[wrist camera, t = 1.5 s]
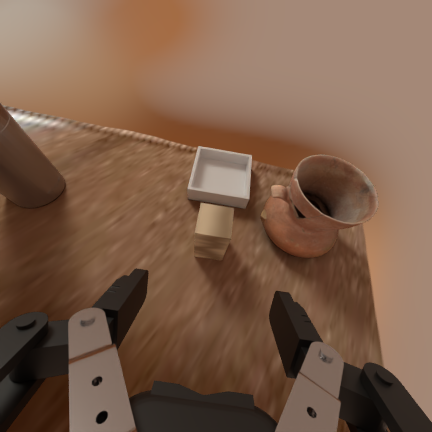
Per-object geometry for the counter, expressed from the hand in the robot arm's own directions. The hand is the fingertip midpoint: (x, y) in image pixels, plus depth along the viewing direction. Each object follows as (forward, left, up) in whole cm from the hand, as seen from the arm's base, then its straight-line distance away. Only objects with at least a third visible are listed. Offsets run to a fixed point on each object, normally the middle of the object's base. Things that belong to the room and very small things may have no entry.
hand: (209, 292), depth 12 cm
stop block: (0, +12, -22) cm, 25 cm away
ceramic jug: (+17, +18, -22) cm, 33 cm away
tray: (0, +27, -22) cm, 35 cm away
